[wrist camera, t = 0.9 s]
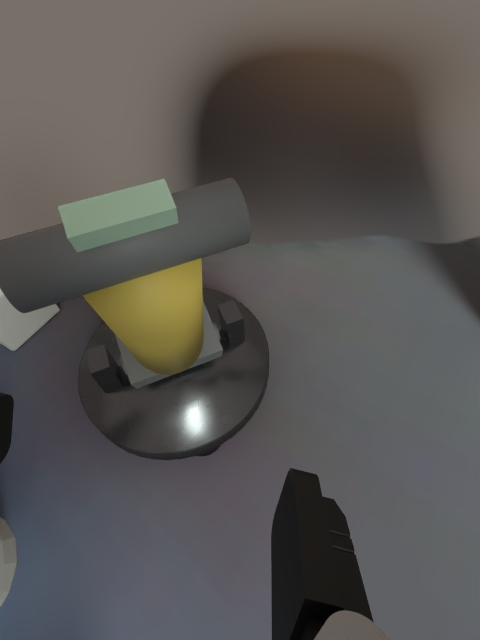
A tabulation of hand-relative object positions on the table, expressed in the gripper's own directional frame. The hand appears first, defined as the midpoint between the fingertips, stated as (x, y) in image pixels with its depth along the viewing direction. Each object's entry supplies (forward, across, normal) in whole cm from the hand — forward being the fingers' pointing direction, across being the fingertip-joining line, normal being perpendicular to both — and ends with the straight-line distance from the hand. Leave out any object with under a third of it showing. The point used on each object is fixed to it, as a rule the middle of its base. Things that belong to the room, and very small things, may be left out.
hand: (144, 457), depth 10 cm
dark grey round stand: (+26, +3, +10) cm, 28 cm away
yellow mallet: (+22, +4, +5) cm, 23 cm away
